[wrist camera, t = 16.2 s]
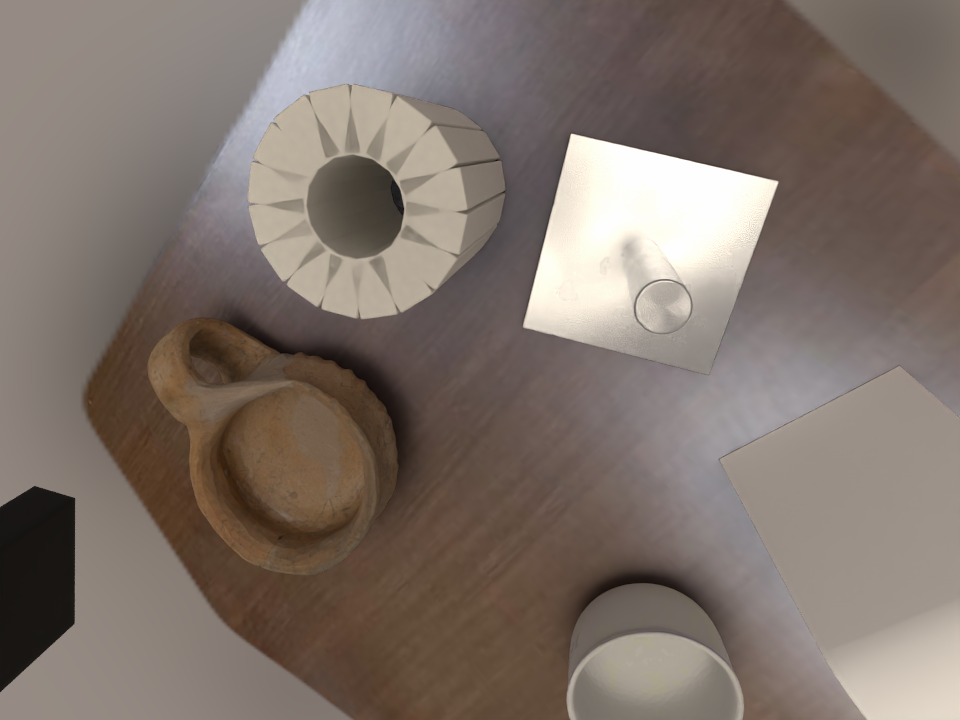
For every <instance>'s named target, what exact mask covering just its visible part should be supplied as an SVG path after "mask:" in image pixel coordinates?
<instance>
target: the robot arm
mask: <svg viewBox="0 0 960 720" xmlns="http://www.w3.org/2000/svg"><path fill="white" fill-rule="evenodd" d="M74 591H75V498H73V497H69V496H66V495H62V494H59V493H56V492H53V491H49V490H46V489H43V488H39V487H36V486H34V487H32V488H31V489H29V490H27V491H26V492H24V493H22V494H21V495H19V496H18V497H16V498H14V499H13V500H11V501H9V502H8V503H6V504H4V505H3V506H1V507H0V692H1V691H2V690H3V689H4V688H5V687H6V686H7V685H8V684H10V683H11V682H12V681H13V680H14V679H15V678H16V677H17V676H18V675H19V674H20V673H21V672H22V671H24V670H25V669H26V668H27V667H28V666H29V665H30V664H31V663H32V662H33V661H34V660H35V659H37V658H38V657H39V656H40V655H41V654H42V653H43V652H44V651H45V650H46V649H47V648H49V647H50V646H51V645H52V644H53V643H54V642H55V641H56V640H57V639H58V638H60V637H61V636H62V635H63V634H64V633H65V632H66V631H67V630H68V629H69V628H70V627H71V626H73V624H74V621H75V619H74V618H75V617H74V616H75V610H74V609H75V608H74V607H75V592H74Z"/></svg>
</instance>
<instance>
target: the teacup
mask: <svg viewBox="0 0 960 720" xmlns="http://www.w3.org/2000/svg"><path fill="white" fill-rule="evenodd" d="M567 709H568V715H569V717H570V720H742V718H743V712H744V699H743V693H742V690H741V687H740V683H739V681H738V678H737V676H736V675H735V673H734V671H733V669H732V666H731V663H730V660H729V658H728V655H727V652H726V650H725V647H724V645H723V642H722V640H721V638H720V635H719V633H718V631H717V629H716V627H715V626H714V624H713V622H712V621H711V619H710V618H709V616H708V615H707V614H706V613H705V611H704V610H703V609H702V608H701V607H700V606H699V605H698V604H697V603H695V602H694V601H693V600H692V599H690V598H689V597H687V596H686V595H684V594H682V593H680V592H678V591H676V590H674V589H671V588H668V587H665V586H662V585H656V584H648V583H636V584H627V585H623V586H619V587H616V588H613V589H610V590H608V591H607V592H605V593H603V594H601V595H600V596H598V597H597V598H596V599H594V600H593V601H592V602H591V603H590V604H589V605H588V606H587V607H586V608H585V609H584V611H583V612H582V614H581V615H580V617H579V619H578V621H577V623H576V625H575V628H574V631H573V634H572V638H571V645H570V655H569V683H568V688H567Z"/></svg>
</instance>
